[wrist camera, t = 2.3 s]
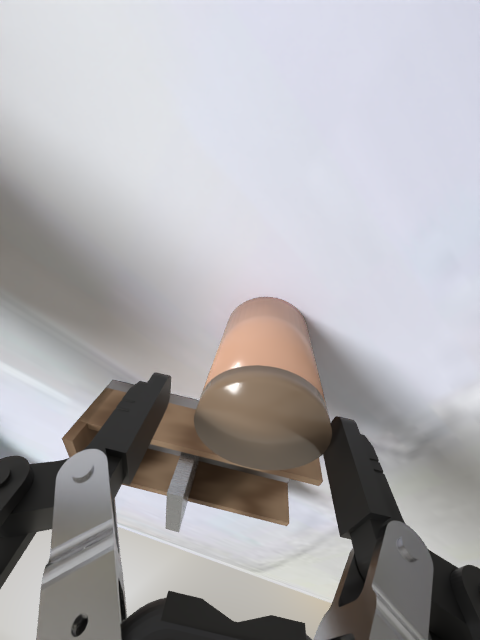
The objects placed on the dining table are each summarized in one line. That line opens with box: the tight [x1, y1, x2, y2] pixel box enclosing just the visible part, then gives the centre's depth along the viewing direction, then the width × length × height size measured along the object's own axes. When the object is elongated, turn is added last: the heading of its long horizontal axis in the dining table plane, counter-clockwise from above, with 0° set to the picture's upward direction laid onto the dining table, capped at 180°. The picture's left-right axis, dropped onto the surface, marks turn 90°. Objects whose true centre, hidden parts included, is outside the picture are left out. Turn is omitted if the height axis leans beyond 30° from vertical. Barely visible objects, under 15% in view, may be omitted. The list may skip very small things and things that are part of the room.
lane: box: [62, 380, 323, 526], centre depth 21 cm, size 20×10×6 cm, turn 79°
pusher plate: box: [166, 452, 200, 532], centre depth 20 cm, size 1×7×6 cm, turn 169°
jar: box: [194, 297, 332, 470], centre depth 13 cm, size 6×6×8 cm
